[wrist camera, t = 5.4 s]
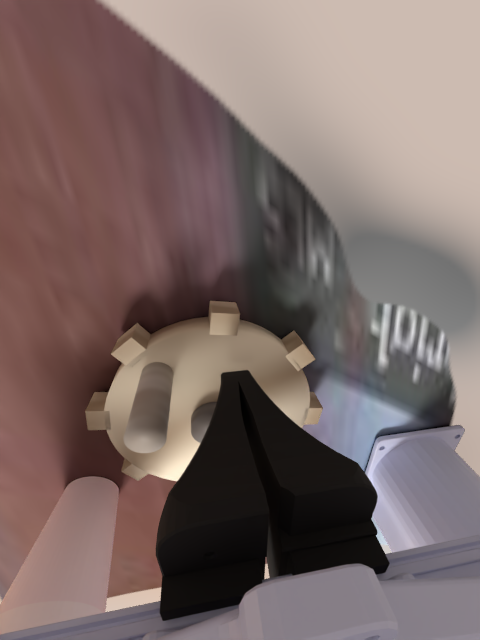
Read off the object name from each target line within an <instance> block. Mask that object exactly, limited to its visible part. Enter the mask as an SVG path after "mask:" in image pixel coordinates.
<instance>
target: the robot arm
mask: <svg viewBox="0 0 480 640" xmlns="http://www.w3.org/2000/svg"><path fill="white" fill-rule="evenodd" d="M464 431H465V429H464V428H463V427H462V426H460V425H455V426H448V427H441V428H434V429H428V430H421V431H414V432H407V433H400V434H393V435H387V436H381V437H378V438H377V439H376V441H375V444H374V447H373V450H372V453H371V456H370V459H369V462H368V466H367V469H366V472H364V471H363V470H362V468H361V467H360V466H359V464H358V463H356V462H355V461H353V460H351V459H349V458H347V457H345V456H343V455H342V454H340V453H338V452H336V451H334V450H333V449H331V448H329V447H328V446H326V445H324V444H323V443H321V442H320V441H318V440H317V439H316V438H314V437H313V436H311V435H310V434H309V433H307V432H306V431H304V430H303V429H302V428H301V427H299V426H298V425H297V424H296V423H295V422H293V421H292V420H291V419H290V418H289V417H288V416H287V415H286V414H285V413H284V412H283V411H282V410H281V409H280V408H279V407H278V406H277V405H276V404H275V403H274V402H273V401H272V400H271V399H270V398H269V397H268V395H267V394H266V393H265V392H264V391H263V389H262V388H261V387H260V386H259V384H258V383H257V382H256V380H255V379H254V377H253V376H252V374H251V373H250V371H248V370H242V371H232V372H223V373H222V374H221V385H220V391H219V395H218V399H217V403H216V407H215V410H214V413H213V416H212V418H211V421H210V424H209V426H208V428H207V431H206V433H205V435H204V437H203V439H202V441H201V443H200V445H199V447H198V449H197V451H196V453H195V455H194V456H193V458H192V459H191V461H190V463H189V464H188V466H187V468H186V469H185V471H184V472H183V474H182V475H181V477H180V478H179V480H178V481H177V482H176V484H175V485H174V487H173V488H172V489H171V491H170V492H169V494H168V497H167V500H166V503H165V505H164V509H163V512H162V515H161V519H160V523H159V527H158V533H157V543H156V557H157V560H158V563H159V566H160V569H161V573H162V576H163V577H162V589H161V601H158V602H153V603H148V604H144V605H139V606H134V607H129V608H125V609H120V610H115V611H110V612H105V613H100V614H96V615H91V616H86V617H81V618H76V619H72V620H67V621H62V622H57V623H52V624H48V625H43V626H38V627H33V628H28V629H24V630H19V631H14V632H9V633H4V634H0V640H480V477H479V475H477V474H476V473H475V471H474V470H472V468H470V466H469V465H468V464H467V463H466V462H465V461H464V460H463V459H462V458H461V457H460V456H459V455H458V454H457V453H456V452H455V448H456V447H457V445H458V443H459V441H460V439H461V437H462V435H463V433H464ZM372 516H373V518H374V520H375V521H376V523H377V525H378V527H379V529H380V531H381V533H382V534H383V536H384V538H385V540H386V542H387V544H388V546H389V547H390V549H391V551H392V553H389V554H385V553H384V551H383V549H382V547H381V545H380V543H379V541H378V539H377V537H376V535H377V529H376V527H375V526H374V524H373V522H372V520H371V518H372ZM265 557H267V563H268V569H269V576H270V578H268V579H264V573H265Z"/></svg>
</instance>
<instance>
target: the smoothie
mask: <svg viewBox="0 0 480 640" xmlns="http://www.w3.org/2000/svg"><path fill="white" fill-rule="evenodd" d="M118 497H119V488H118V486H117V485H116V484H115V483H114V482H113V481H111V480H109V479H106V478H103V477H96V476H89V477H82V478H79V479H76V480H74V481H72V482H71V483H69V484H68V485H67V487H66V489H65V490H64V492H63V494H62V496H61V497H60V499H59V501H58V503H57V505H56V506H55V508H54V510H53V512H52V513H51V515H50V517H49V519H48V521H47V522H46V524H45V526H44V528H43V529H42V531H41V533H40V535H39V537H38V538H37V540H36V542H35V544H34V545H33V547H32V549H31V551H30V553H29V554H28V556H27V558H26V560H25V561H24V563H23V565H22V567H21V569H20V570H19V572H18V574H17V576H16V577H15V579H14V581H13V583H12V585H11V586H10V588H9V590H8V592H7V594H6V595H5V597H4V599H3V601H2V602H1V604H0V634H4V633H9V632H14V631H19V630H24V629H28V628H33V627H38V626H43V625H48V624H52V623H57V622H62V621H67V620H72V619H76V618H81V617H86V616H91V615H96V614H100V613H105V609H106V600H107V591H108V583H109V574H110V566H111V557H112V548H113V540H114V531H115V523H116V514H117V505H118Z"/></svg>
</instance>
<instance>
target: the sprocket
mask: <svg viewBox="0 0 480 640" xmlns="http://www.w3.org/2000/svg"><path fill="white" fill-rule="evenodd" d="M111 355H112V356H114V357H115V358H116V359H118V360H119V361H120V362H122V363H121V365H120V367H119V368H118V370H117V373H116V375H115V377H114V380H113V382H112V385H111V387H110V390H109V392H94V394H93V396H92V398H91V400H90V402H89V404H88V406H87V408H86V411H85V414H86V420H87V427H88V430H107V433H108V435H109V438H110V440H111V442H112V443H113V445H114V446H115V448H116V449H117V450H118V452H119V453H120V454H121V455H122V456H123V457H124V458H125V459H124V462H123V466H122V470H121V472H123V473H125V474H127V475H129V476H130V477H132V478H134V479H136V480H138V481H139V480H140V479H141V478H143V477H144V476H146V475H147V474H152V475H155V476H158V477H160V478H164V479H168V480H173V481H178V480H179V478H180V477H181V475H182V474H183V472H184V471H185V469H186V468H187V466H188V464H189V463H190V461H191V459H192V458H193V456H194V455H195V453H196V451H197V449H198V447H199V445H200V443H201V441H202V439H203V437H204V435H205V433H206V431H207V428H208V426H209V424H210V421H211V418H212V416H213V413H214V410H215V407H216V403H217V399H218V395H219V391H220V385H221V374H222V373H223V372H232V371H242V370H248V371H250V373H251V374H252V376H253V377H254V379H255V380H256V382H257V383H258V384H259V386H260V387H261V388H262V389H263V391H264V392H265V393H266V394H267V395H268V397H269V398H270V399H271V400H272V401H273V402H274V403H275V404H276V405H277V406H278V407H279V408H280V409H281V410H282V411H283V412H284V413H285V414H286V415H287V416H288V417H289V418H290V419H291V420H292V421H293V422H295V423H296V424H297V425H298V426H299V427H301V428H302V427H303V425H304V424H318V421H319V418H320V415H321V412H322V409H323V407H322V405H321V404H320V402H319V400H318V399H317V397H316V395H315V393H314V392H310V391H309V386H308V382H307V379H306V376H305V374H304V372H303V370H302V368H303V367H305V366H306V365H308V364H309V363H311V362H312V361H314V360H315V358H314V356H313V355H312V354H311V352H310V351H309V349H308V348H307V346H306V345H305V344H304V342H303V341H302V340H301V339H300V337H299V336H298V335H297V333H296V332H295V331H292V332H291V333H290V334H288V335H287V336H285V337H284V338H283V339H280V338H278V337H277V336H276V335H274V334H273V333H272V332H270V331H268V330H267V329H265V328H263V327H261V326H259V325H256V324H254V323H251V322H248V321H244V320H240V313H239V310H238V307H237V304H236V302H222V301H210V305H209V316H208V317H201V318H193V319H189V320H185V321H180V322H177V323H174V324H172V325H169V326H166V327H164V328H162V329H160V330H158V331H156V332H154V333H152V334H149V333H148V332H147V331H146V330H145V329H144V328H143V327H141V326H140V325H139V324H138V323H137V324H135V325H134V326H133V327H132V328H131V329H129V330H128V331H127V332H126V333H124V334H123V335H122V336H121V337H120V338H118V340H117V342H116V344H115V346H114V348H113V350H112V352H111Z"/></svg>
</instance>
